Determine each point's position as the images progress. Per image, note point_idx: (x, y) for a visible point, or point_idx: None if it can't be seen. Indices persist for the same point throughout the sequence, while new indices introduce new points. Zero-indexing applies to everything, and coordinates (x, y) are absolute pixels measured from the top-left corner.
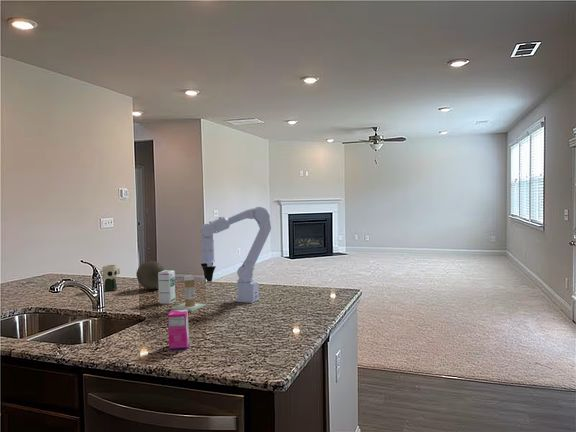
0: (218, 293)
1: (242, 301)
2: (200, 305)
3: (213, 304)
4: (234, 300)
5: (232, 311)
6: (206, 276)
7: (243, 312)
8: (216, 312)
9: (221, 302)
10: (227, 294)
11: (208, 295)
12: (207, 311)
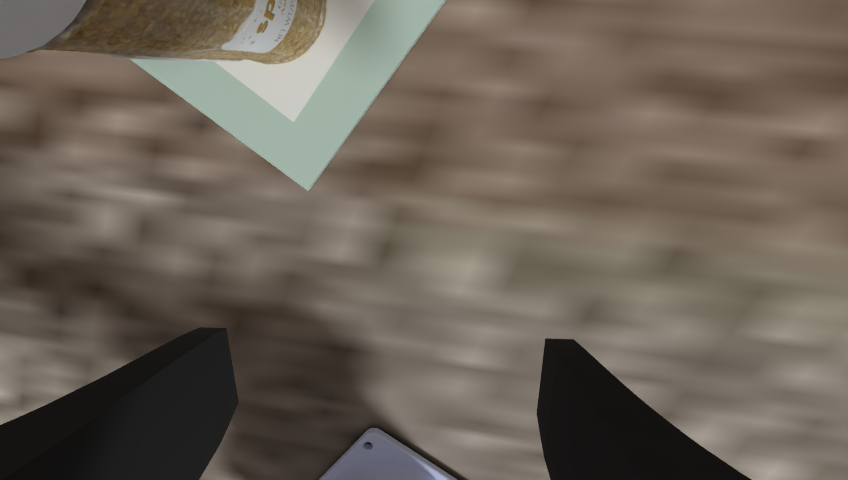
0: (801, 365)
1: (323, 478)
2: (253, 121)
3: (331, 255)
4: (371, 435)
5: (49, 357)
6: (96, 391)
7: (15, 418)
8: (24, 238)
9: (389, 331)
10: (699, 428)
11: (770, 262)
12: (65, 166)
